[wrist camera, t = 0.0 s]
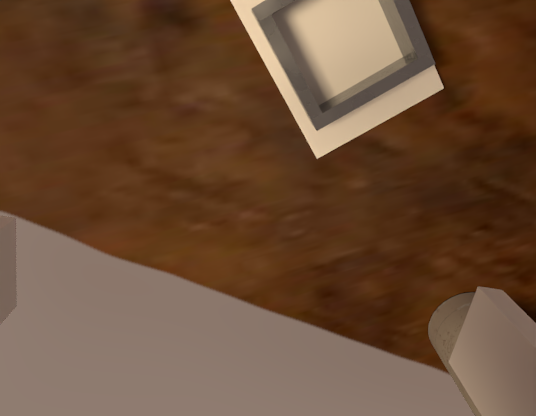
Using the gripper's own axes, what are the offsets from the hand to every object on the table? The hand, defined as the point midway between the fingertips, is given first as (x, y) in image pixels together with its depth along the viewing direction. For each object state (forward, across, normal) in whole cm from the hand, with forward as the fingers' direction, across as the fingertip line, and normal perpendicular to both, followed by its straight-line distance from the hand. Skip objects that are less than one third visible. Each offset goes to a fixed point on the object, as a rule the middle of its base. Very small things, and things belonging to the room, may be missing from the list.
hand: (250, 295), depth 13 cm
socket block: (+28, +6, +8) cm, 30 cm away
